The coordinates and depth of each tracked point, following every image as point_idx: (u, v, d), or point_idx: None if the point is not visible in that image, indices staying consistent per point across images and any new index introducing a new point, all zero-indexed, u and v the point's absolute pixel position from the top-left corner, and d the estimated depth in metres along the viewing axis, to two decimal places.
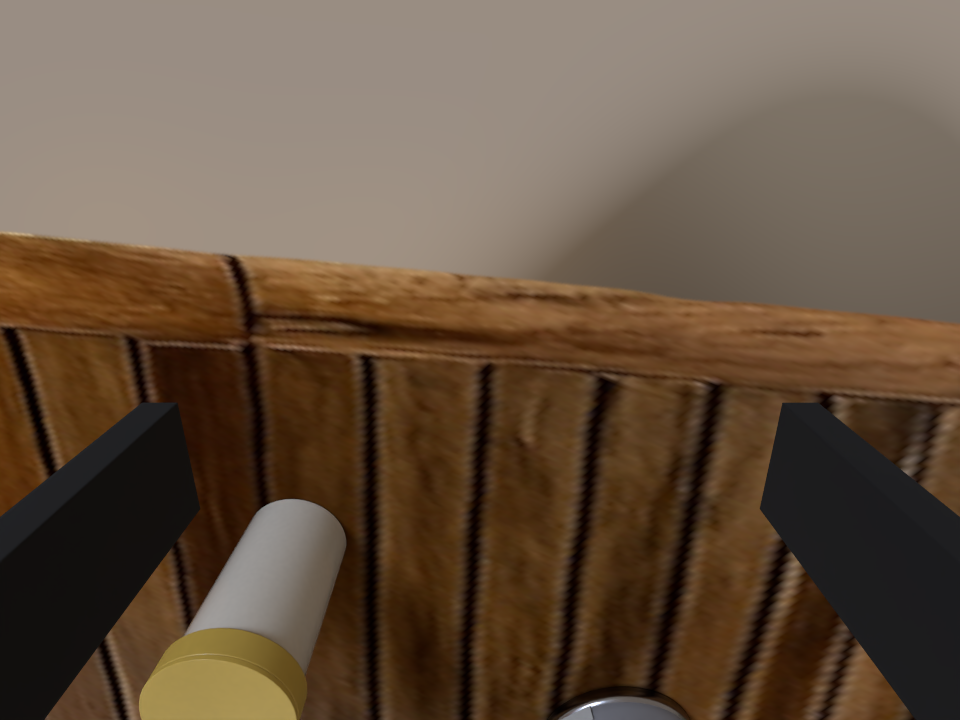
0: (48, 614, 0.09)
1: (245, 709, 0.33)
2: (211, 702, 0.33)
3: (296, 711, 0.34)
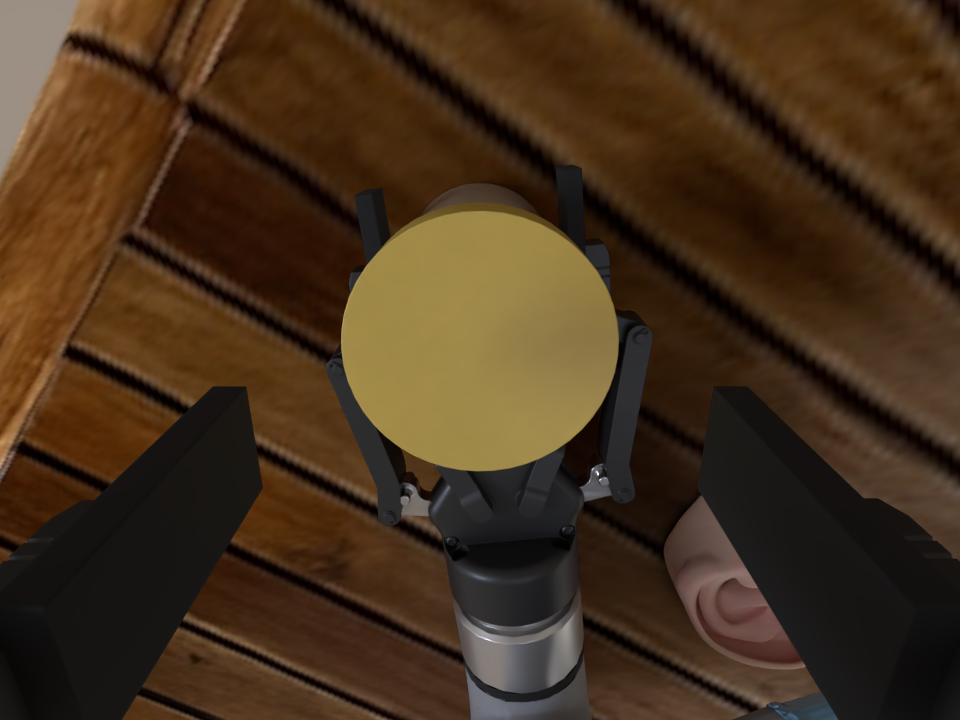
0: (154, 574, 0.09)
1: (491, 301, 0.18)
2: (445, 338, 0.19)
3: (552, 229, 0.18)
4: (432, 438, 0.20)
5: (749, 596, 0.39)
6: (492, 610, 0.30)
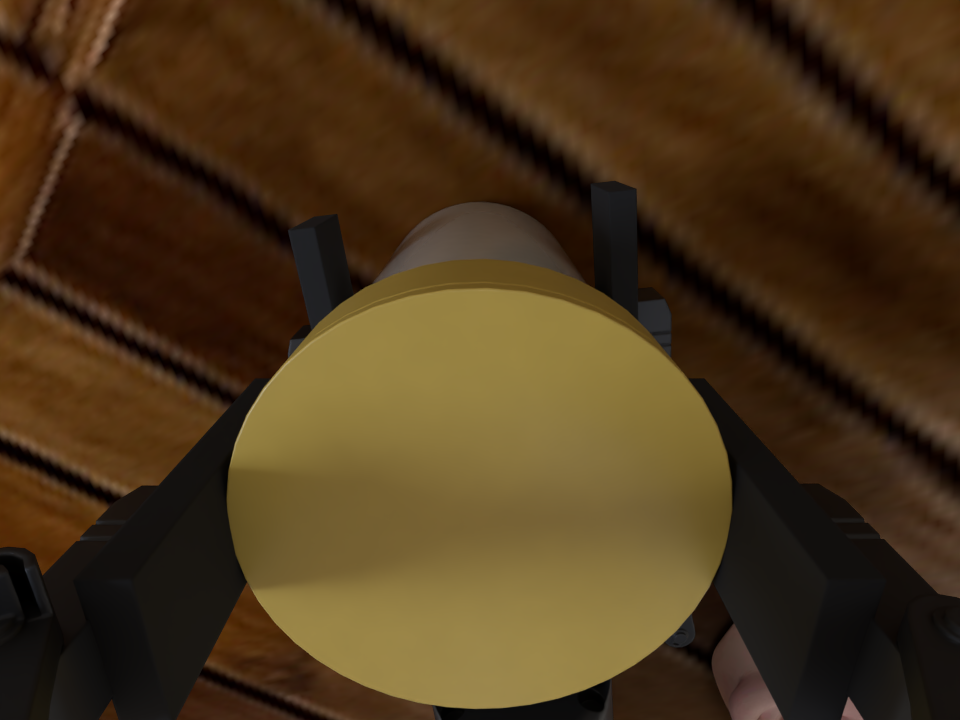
0: (215, 555, 0.10)
1: (500, 449, 0.10)
2: (415, 510, 0.10)
3: (617, 320, 0.09)
4: (397, 662, 0.12)
5: None
6: None
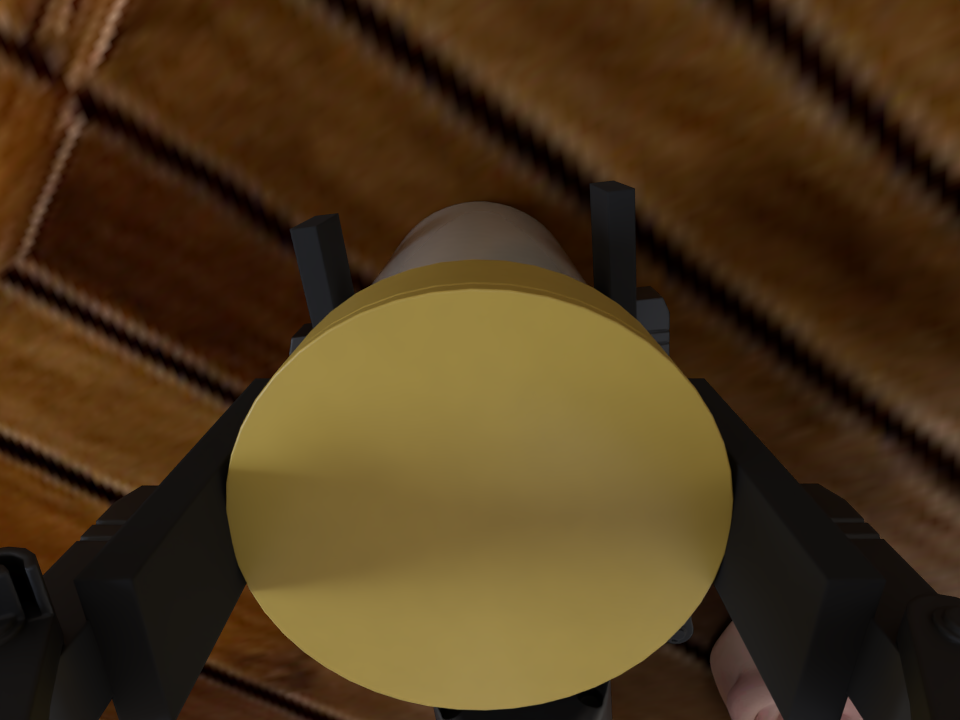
0: (216, 555, 0.10)
1: (400, 482, 0.10)
2: (428, 569, 0.11)
3: (319, 334, 0.09)
4: (584, 654, 0.11)
5: None
6: None
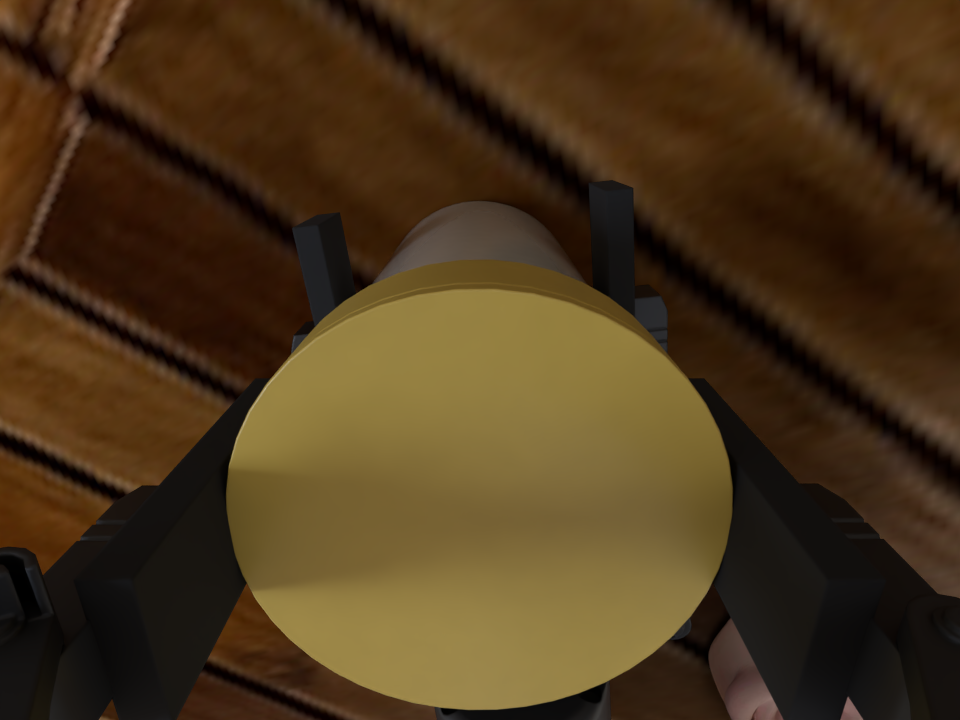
0: (216, 554, 0.10)
1: (393, 565, 0.11)
2: (494, 586, 0.11)
3: None
4: (680, 509, 0.10)
5: None
6: None
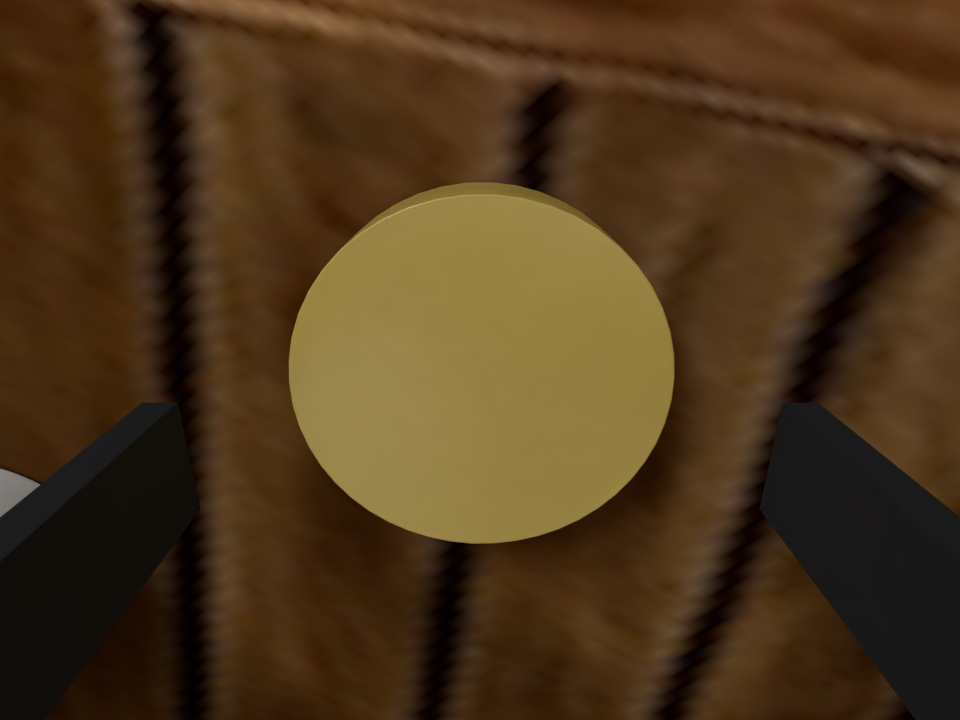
0: (48, 614, 0.09)
1: (415, 419, 0.14)
2: (492, 436, 0.14)
3: None
4: (634, 371, 0.13)
5: None
6: None
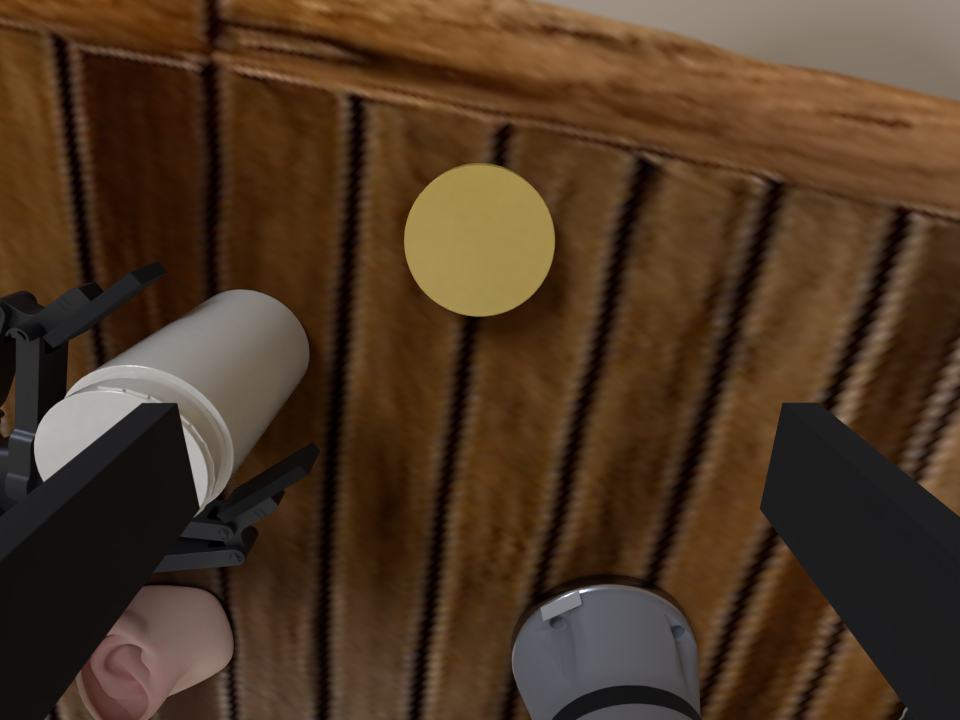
0: (48, 614, 0.09)
1: (453, 256, 0.35)
2: (484, 264, 0.35)
3: None
4: (538, 235, 0.34)
5: (136, 665, 0.47)
6: None
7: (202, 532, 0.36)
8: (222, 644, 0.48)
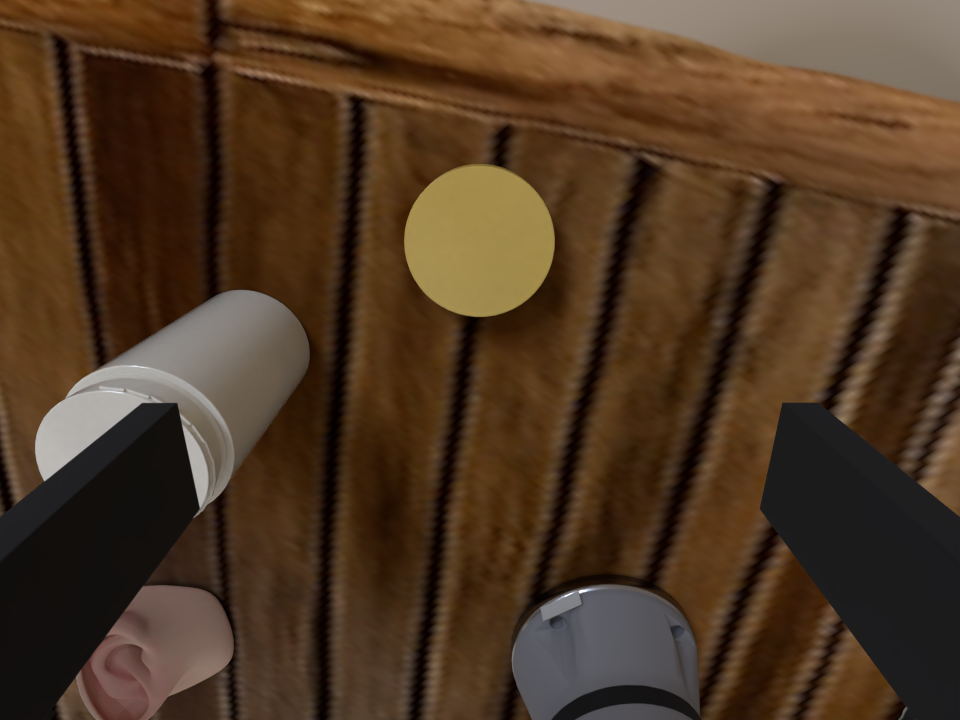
0: (48, 614, 0.09)
1: (453, 257, 0.35)
2: (484, 264, 0.35)
3: (405, 253, 0.35)
4: (538, 236, 0.34)
5: (136, 665, 0.47)
6: None
7: None
8: (222, 644, 0.48)
